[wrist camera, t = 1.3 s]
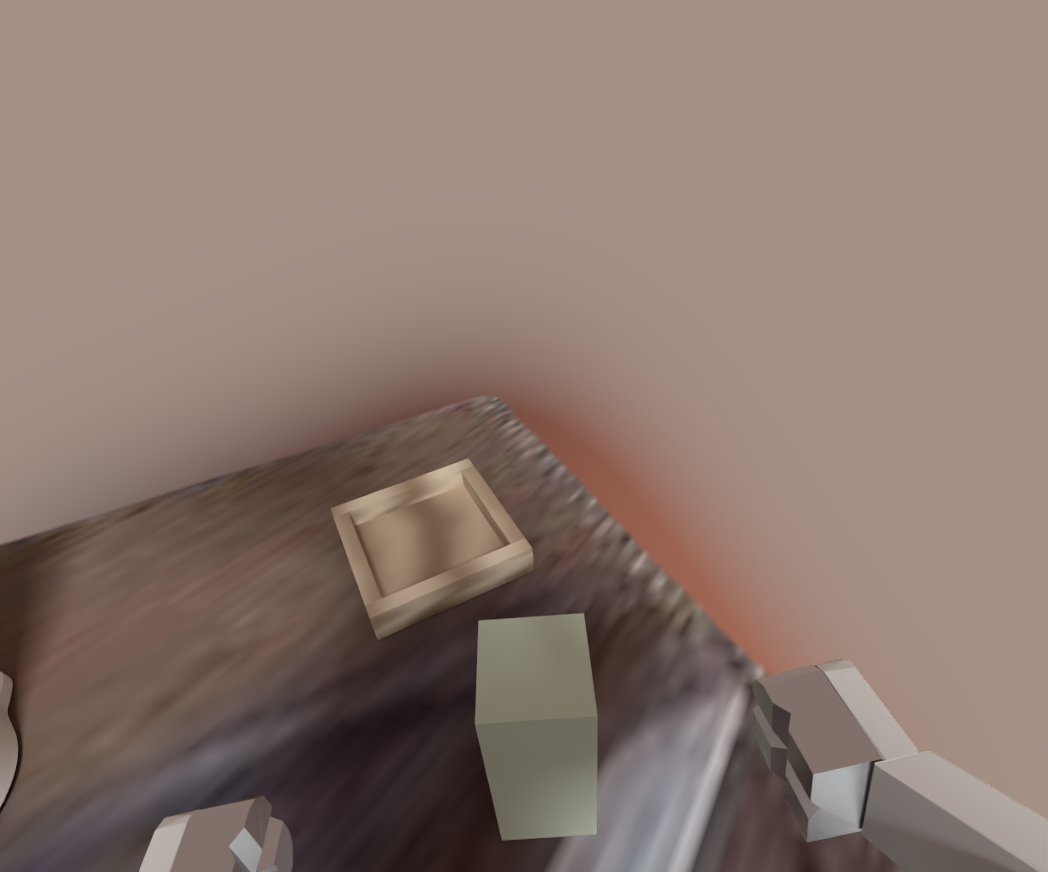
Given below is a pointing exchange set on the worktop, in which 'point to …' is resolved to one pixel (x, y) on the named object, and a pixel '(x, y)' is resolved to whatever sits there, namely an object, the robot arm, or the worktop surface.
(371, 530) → the ash wood holder
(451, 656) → the worktop surface
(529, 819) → the sage block
